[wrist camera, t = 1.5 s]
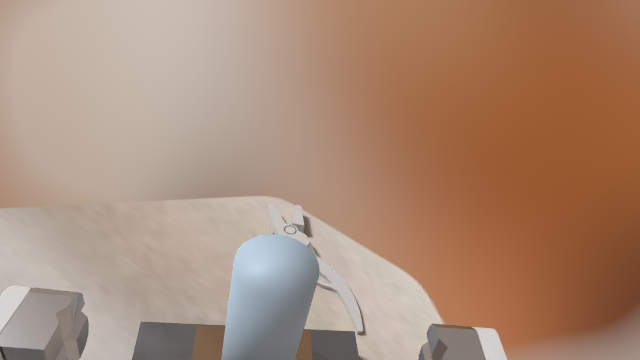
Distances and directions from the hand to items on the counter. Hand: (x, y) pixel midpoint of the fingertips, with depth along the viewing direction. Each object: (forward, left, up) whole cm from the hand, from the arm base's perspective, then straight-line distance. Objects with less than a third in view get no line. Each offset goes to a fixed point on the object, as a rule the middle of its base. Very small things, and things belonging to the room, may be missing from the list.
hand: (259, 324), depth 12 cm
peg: (+2, +10, -20) cm, 23 cm away
